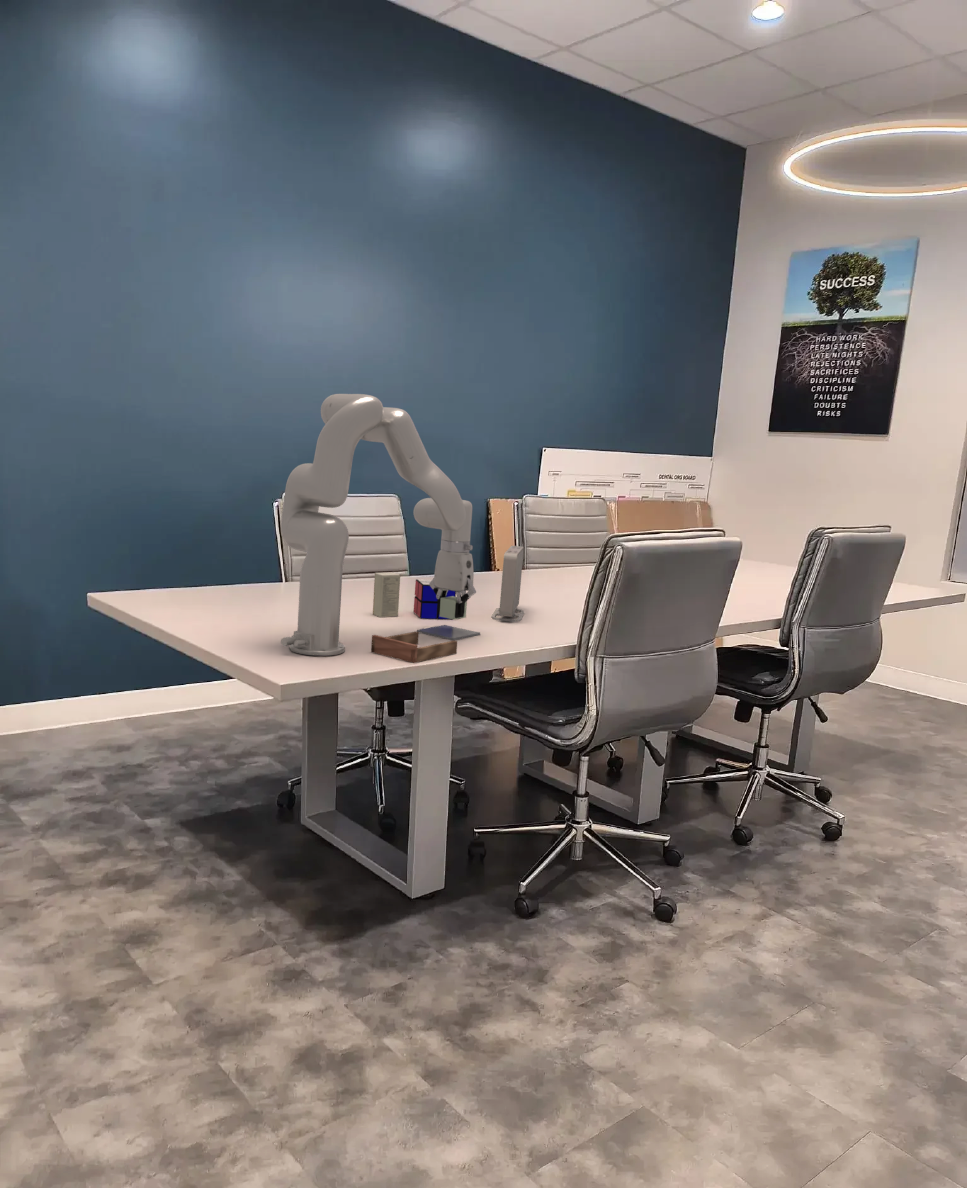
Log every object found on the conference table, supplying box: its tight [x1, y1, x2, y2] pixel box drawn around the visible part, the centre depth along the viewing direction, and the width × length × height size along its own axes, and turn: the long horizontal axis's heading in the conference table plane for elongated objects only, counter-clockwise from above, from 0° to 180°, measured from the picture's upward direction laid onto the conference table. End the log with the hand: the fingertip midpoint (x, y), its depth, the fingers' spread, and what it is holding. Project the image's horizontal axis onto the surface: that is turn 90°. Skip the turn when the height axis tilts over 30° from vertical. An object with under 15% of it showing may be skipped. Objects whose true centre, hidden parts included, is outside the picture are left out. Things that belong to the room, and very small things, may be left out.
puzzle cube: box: [413, 578, 457, 621], centre depth 266 cm, size 10×10×10 cm
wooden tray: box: [370, 631, 458, 664], centre depth 218 cm, size 16×13×4 cm
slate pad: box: [416, 624, 481, 641], centre depth 244 cm, size 12×12×1 cm
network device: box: [491, 545, 525, 623], centre depth 275 cm, size 26×9×20 cm, turn 173°
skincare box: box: [372, 571, 401, 618], centre depth 261 cm, size 6×4×12 cm
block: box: [439, 596, 468, 621], centre depth 243 cm, size 5×5×5 cm
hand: (450, 614), depth 243 cm, fingers closed on block, 5 cm apart
